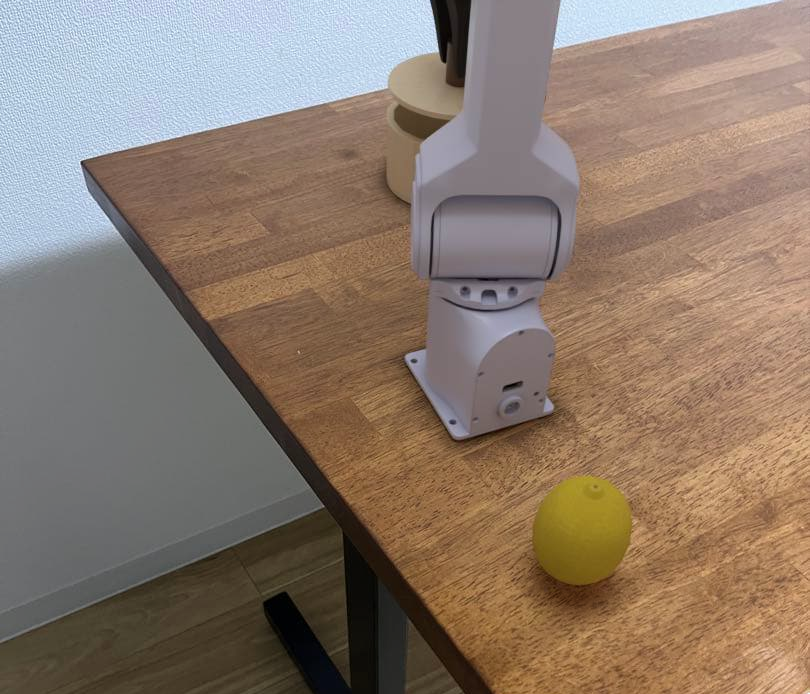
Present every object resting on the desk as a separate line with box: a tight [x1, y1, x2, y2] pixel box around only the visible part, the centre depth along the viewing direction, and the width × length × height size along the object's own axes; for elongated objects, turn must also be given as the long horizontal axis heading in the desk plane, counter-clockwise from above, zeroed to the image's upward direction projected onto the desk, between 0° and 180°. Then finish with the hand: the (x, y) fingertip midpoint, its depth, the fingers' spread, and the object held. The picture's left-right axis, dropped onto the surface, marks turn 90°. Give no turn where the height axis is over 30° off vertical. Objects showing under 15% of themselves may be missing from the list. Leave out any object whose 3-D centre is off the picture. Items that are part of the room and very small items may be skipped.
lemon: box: [531, 475, 633, 586], centre depth 47 cm, size 6×6×8 cm
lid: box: [387, 37, 465, 120], centre depth 69 cm, size 12×12×4 cm
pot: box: [386, 100, 451, 205], centre depth 75 cm, size 11×11×6 cm
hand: (460, 67), depth 69 cm, fingers closed on lid, 2 cm apart
